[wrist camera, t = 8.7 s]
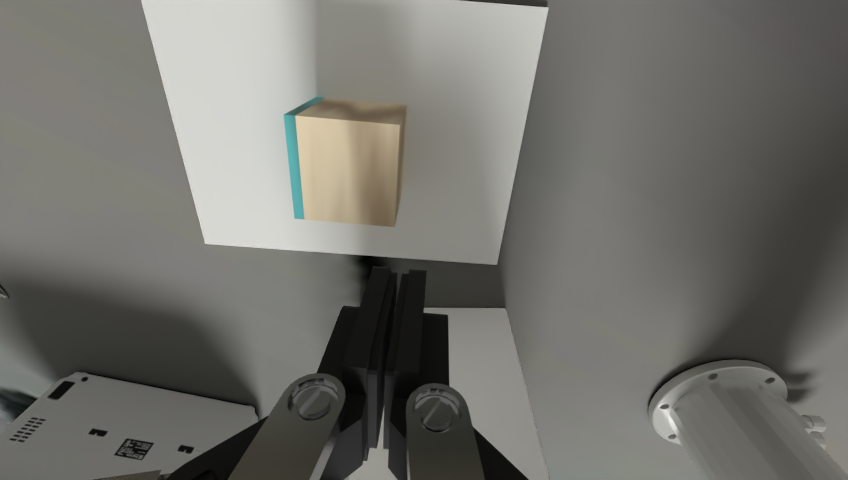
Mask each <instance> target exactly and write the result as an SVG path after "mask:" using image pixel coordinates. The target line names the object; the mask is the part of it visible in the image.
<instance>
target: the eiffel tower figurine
mask: <svg viewBox="0 0 848 480" xmlns="http://www.w3.org/2000/svg"><path fill="white" fill-rule="evenodd" d="M0 298H9V297H8V296H7V295H6V293H5V292H4V291H3V290H2V288H1V287H0Z"/></svg>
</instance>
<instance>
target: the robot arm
mask: <svg viewBox="0 0 848 480" xmlns="http://www.w3.org/2000/svg"><path fill="white" fill-rule="evenodd" d="M426 272H427V271H423V270H411V269H410V270H409V274H404V273H402V278H401V283H400V289H399V294H398V300H397V306H396V292H397V273H392V272H391V268H387V267H375V266H373V268H372V271H371V274H370V278H369V281H368V284H367V287H366V290H365V293H364V297H363V300H362V303H361V306H360V307H352V306H343V307H342V309H341V311H340V314H339V316H338V319H337V321H336V324H335V327H334V329H333V332H332V335H331V337H330V340H329V342H328V345H327V348H326V350H325V353H324V355H323V358H322V361H321V363H320V366H319V368H318V371H317V373H315V374H309V375H306V376H303V377H301V378H299V379H297V380H296V381H294V382H293V383H292V384H290V385H289V387H288V388H287V389H286V390H285V391H284V393H283V394H282V396H281V397H280V399H279V401H278V402H277V404H276V405H275V407H274V408H273V410H272V411H271V413H270V414H269V416H267V417H265V418H263V419H262V420H260V421H258V422H256V423H255V424H253V425H251V426H249V427H248V428H246V429H244V430H243V431H241V432H239V433H237V434H236V435H234V436H232V437H230V438H229V439H227V440H225V441H223V442H222V443H220V444H218V445H216V446H215V447H213V448H211V449H209V450H208V451H206V452H204V453H202V454H201V455H199V456H197V457H195V458H194V459H192V460H190V461H189V462H187V463H185V464H184V465H182V466H181V467H179V468H178V469H177V470H175V471H174V472H172V473H168V474H163V471H162V470H155V471H148V472H141V473H134V474H128V475H121V476H114V477H107V478H100V479H93V480H349V476H350V474H352V473H353V472H354V471H356V470H357V469H358V468H359V467H361V466H362V464H363V461H367V459H368V454H369V448H377V446H378V440H379V434H380V428H381V422H382V415H383V409H384V431H383V449H388V450H389V453H388V468H389V469H390V471H391V472H392V473H393V475H394V476H395V477H396V478H397V480H529V479H528V478H527V477H526V476H525V475H524V474H523V473H521V472H520V471H519V470H518V469H517V468H516V467H515V466H514V465H513V464H512V463H511V462H510V461H509V460H508V459H507V458H506V457H505V456H504V455H503V454H501V453H500V452H499V451H498V450H497V449H496V448H495V447H494V446H493V445H492V444H491V443H490V442H489V441H488V440H487V439H486V438H485V437H484V436H482V435H481V434H480V433H479V432H478V431H477V430H476V429H475V428H474V427H473V426H472V422H471V417H470V413H469V409H468V406H467V403H466V401H465V399H464V398H463V397H462V395H461V394H460V393H459V392H458V391H456V390H455V389H453V388H452V387H450V386H449V333H448V315H446V314H434V313H424V299H425V286H426ZM786 400H787V387H786V384H785V382H784V381H783V380H782V379H781V378H780V377H779V376H778V375H777V374H776V373H775V372H774V371H773V370H772V369H771V368H769V367H768V366H765V365H763V364H761V363H758V362H753V361H749V360H721V361H716V362H710V363H706V364H703V365H700V366H696V367H694V368H691V369H689V370H687V371H684V372H682V373H681V374H679V375H677V376H675V377H674V378H672V379H671V380H669V381H668V382H667V383H665V384H664V385H663V386H662V387H661V388H660V389H659V390H658V391H657V392H656V394H655V395H654V397H653V398H652V400H651V403H650V405H649V410H648V415H649V419H650V422H651V423H652V425H653V427H654V429H655V431H656V432H657V433H658V434H659V435H660V436H661V437H663V438H664V439H666V440H668V441H671V442H673V443H676V444H680V445H682V446H683V448H684V449H685V451H686V453H687V455H688V456H689V458H690V460H691V461H692V463H693V465H694V466H695V468H696V470H697V471H698V473H699V475H700V476H701V478H702V480H848V475H847V474H846V473H845V472H844V470H843V469H842V468H841V467H840V466H839V465H838V464H837V463H836V462H835V461H834V460H833V459H832V458H831V457H830V456H829V454H828V453H827V452H826V451H825V450H824V449H825V448H826V441H825V439H824V437H823V436H822V434H820V433H819V432H823V431H825V430H826V428H827V425H826V422H825V421H824V420H823V419H822V418H821V417H819V416H811V415H802V416H800V415H799V414H798V413H797V412H796V411H795V410H794V409H793V408H792V407H791V406H790V405H789V404H788V403H787V402H786ZM818 431H819V432H818Z"/></svg>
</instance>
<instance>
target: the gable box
mask: <svg viewBox="0 0 848 480" xmlns="http://www.w3.org/2000/svg"><path fill="white" fill-rule="evenodd" d="M424 313H434V314H446V315H448V333H449V386H450V387H452V388H453V389H455V390H456V391H458V392H459V393H460V394H461V395H462V397H463V398H464V399H465V401H466V403H467V406H468V409H469V413H470V417H471V422H472V426H473V427H474V428H475V429H476V430H477V431H478V432H479V433H480V434H481V435H482V436H484V437H485V438H486V439H487V440H488V441H489V442H490V443H491V444H492V445H493V446H494V447H495V448H496V449H497V450H498V451H499V452H500V453H501V454H503V455H504V456H505V457H506V458H507V459H508V460H509V461H510V462H511V463H512V464H513V465H514V466H515V467H516V468H517V469H518V470H519V471H520V472H521V473H523V474H524V475H525V476H526V477H527V478H528V479H529V480H550V477H549V473H548V469H547V466H546V462H545V458H544V454H543V450H542V446H541V442H540V438H539V435H538V431H537V427H536V423H535V419H534V415H533V411H532V407H531V404H530V400H529V396H528V392H527V388H526V384H525V380H524V376H523V373H522V369H521V365H520V361H519V357H518V353H517V349H516V345H515V342H514V338H513V334H512V330H511V326H510V322H509V318H508V314H507V311H506V309H505V308H424ZM383 431H384V409H383V415H382V422H381V428H380V434H379V440H378V446H377V448H369V454H368V459H367V461H363V464H362V466H361V467H359V468H358V469H357V470H356V471H354V472H353V473H352V474H350V476H349V480H397V478H396V477H395V476H394V475H393V473H392V472H391V471H390V469H389V468H388V453H389V450H388V449H383Z"/></svg>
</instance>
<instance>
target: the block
mask: <svg viewBox="0 0 848 480" xmlns="http://www.w3.org/2000/svg"><path fill="white" fill-rule="evenodd" d="M406 118H407V105H400V104H389V103H378V102H367V101H356V100H345V99H334V98H323V97H315V98H314V99H312V100H310V101H308V102H306V103H304V104H302V105H300V106H299V107H297V108H295V109H293V110H291V111H289V112H287V113H286V114H284V124H285V133H286V143H287V152H288V162H289V171H290V181H291V190H292V200H293V209H294V219H304V220H316V221H328V222H339V223H351V224H363V225H375V226H387V227H395V224H396V219H397V214H398V209H399V204H400V199H401V195H402V190H403V172H404V154H405V136H406Z"/></svg>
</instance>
